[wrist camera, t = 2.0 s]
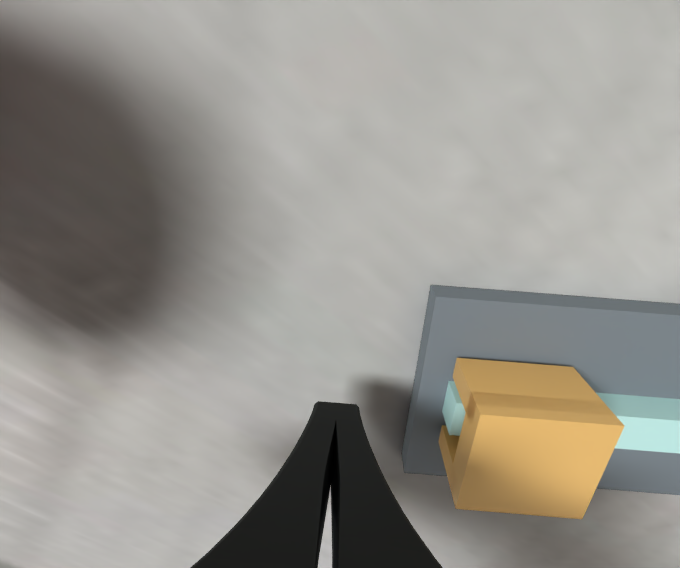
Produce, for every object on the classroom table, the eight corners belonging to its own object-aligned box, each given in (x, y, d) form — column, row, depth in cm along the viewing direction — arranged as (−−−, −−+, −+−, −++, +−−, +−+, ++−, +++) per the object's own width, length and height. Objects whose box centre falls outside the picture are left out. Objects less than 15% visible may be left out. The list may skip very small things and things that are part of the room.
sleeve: (542, 449, 15) (581, 518, 12) (438, 441, 15) (455, 508, 12) (573, 366, 13) (624, 425, 11) (456, 357, 13) (480, 414, 11)
